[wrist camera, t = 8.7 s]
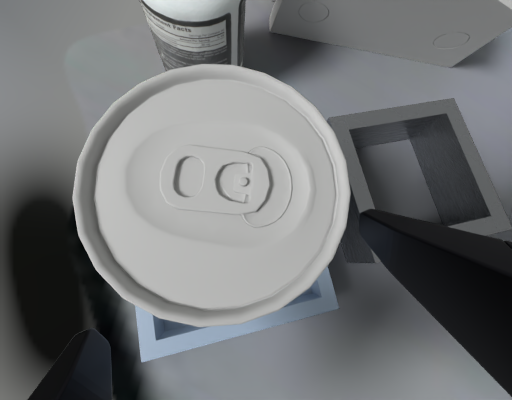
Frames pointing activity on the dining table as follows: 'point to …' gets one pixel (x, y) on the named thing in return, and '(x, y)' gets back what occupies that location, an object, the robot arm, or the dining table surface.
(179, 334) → the tray
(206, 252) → the beverage can
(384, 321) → the dining table surface
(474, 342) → the robot arm
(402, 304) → the dining table surface
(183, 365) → the dining table surface
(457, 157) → the short square tube
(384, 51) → the white black arched block
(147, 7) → the pill bottle
